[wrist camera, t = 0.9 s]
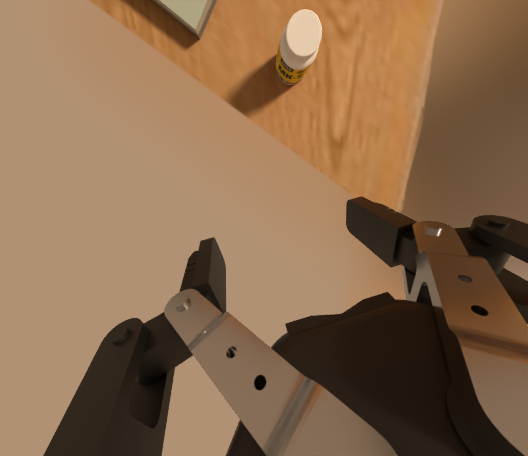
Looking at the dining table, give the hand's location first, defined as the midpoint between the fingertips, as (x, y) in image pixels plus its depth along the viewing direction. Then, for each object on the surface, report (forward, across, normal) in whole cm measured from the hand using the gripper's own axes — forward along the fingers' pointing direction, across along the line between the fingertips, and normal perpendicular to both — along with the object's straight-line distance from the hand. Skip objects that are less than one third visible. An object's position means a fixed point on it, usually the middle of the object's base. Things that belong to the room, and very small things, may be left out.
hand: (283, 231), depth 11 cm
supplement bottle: (+26, -10, -11) cm, 30 cm away
